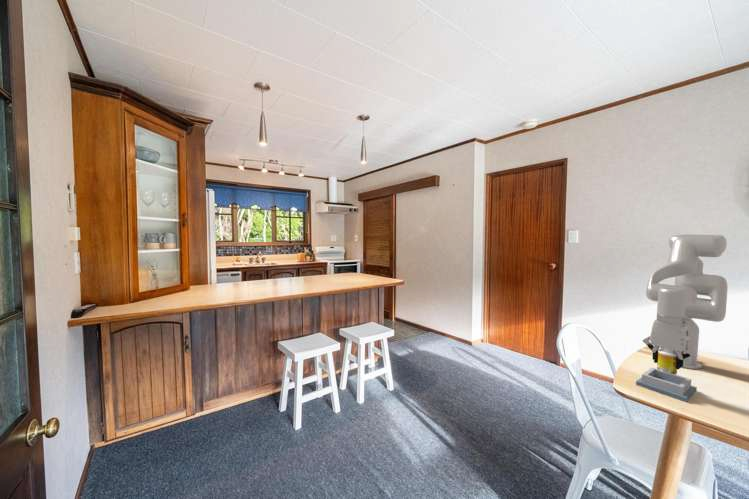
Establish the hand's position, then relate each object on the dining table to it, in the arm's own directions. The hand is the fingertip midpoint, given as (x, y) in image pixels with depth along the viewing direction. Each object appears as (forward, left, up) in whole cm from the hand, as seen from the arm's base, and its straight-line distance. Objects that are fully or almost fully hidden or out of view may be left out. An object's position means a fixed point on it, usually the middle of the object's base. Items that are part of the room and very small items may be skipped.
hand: (667, 364), depth 114 cm
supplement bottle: (0, 0, -3) cm, 3 cm away
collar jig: (0, 0, -9) cm, 9 cm away
